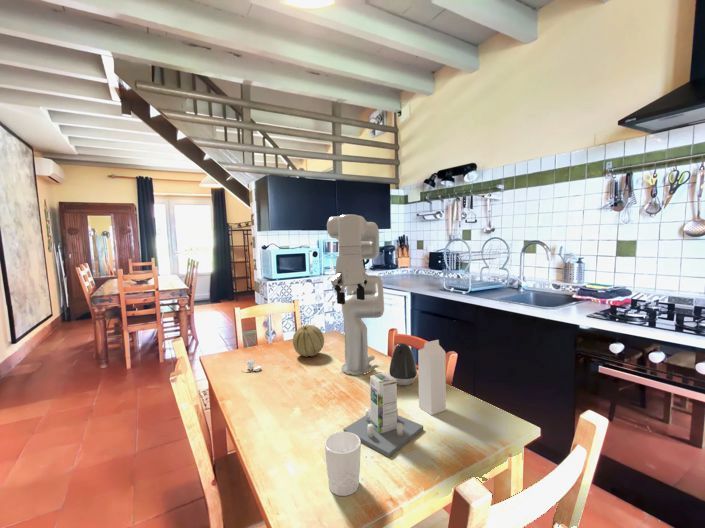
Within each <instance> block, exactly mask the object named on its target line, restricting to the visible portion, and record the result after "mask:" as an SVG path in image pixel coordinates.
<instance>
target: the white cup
mask: <svg viewBox="0 0 705 528" xmlns="http://www.w3.org/2000/svg"><path fill="white" fill-rule="evenodd" d="M361 444H362V443H361V441H360V438H359V437H358V436H357V435H355V434H353V433H350V432H344V431H337V432H335V433H332V434H330V435H329V436H328V437H326V439H325V440H324V450H325V464H326V473H327V480H328V481H327V482H328V489H329V490H330V491H331V493H332V494H333V495H335V496H339V497H347V496H351V495H353V494H354V493H355V492H357V490H358V489H359V486H360V473H361V471H360V470H361Z"/></svg>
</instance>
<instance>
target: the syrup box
mask: <svg viewBox="0 0 705 528" xmlns="http://www.w3.org/2000/svg"><path fill="white" fill-rule="evenodd" d="M369 378H370V384H369V386H370V387H369V389H370V391H369V392H370V405H369V406H370V410H371V424H373V427H374V428H375V429H376V430H377V431H378V432H379V433H380V434H382V433H385V432H388V431H391V430H394V429H397V409H398V405H397V404H398V403H397V402H398V399H397V398H398V397H397V396H398V393H397V392H398V389H397V388H398V386H397V385H398V384H397V379H395V378H393V377H392V376H391V375H390V373H389V372H388V373H387V372H381V373H379V372H378V373H375V374H373V375H370V376H369Z"/></svg>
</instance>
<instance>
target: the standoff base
mask: <svg viewBox="0 0 705 528" xmlns="http://www.w3.org/2000/svg"><path fill="white" fill-rule="evenodd" d="M398 410H399V408H397V429H394V430H391V431H388V432H385V433H382V434H380V433H379V432H378V431H377V430H376V429H375V428H374V427H373V424H371V408H370V409H368V408H366V409H365V415H364V416H362V417H361V418H359V419H358V420H356V421H354V422H352V423H351V424H349V425H348V426H346V427H344V428H343V432H350V433H353V434H355V435H357V436H358V437H359V438H360V441H361V444H363V445H365V446H367V447H369V448H371V449H372V450H374V451H376V452H378V453H379V454H382V455H384V456H385V457H387V458H390V457H392V456H393V455H394V454H396V453H397V452H398V451H400V450H401V449H402V448H403V447H404V446H405V445H407V443H409V442H410V441H411V440H413V439H414V438H415V437H416V436H417V435H419V434H420V433H422V432H423V431H424V425H423V424H420V423H418V422H416V421H412V420H410V419H408V418H406V417H403V416H401V415H399V411H398Z"/></svg>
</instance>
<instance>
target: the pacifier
mask: <svg viewBox="0 0 705 528" xmlns="http://www.w3.org/2000/svg"><path fill="white" fill-rule="evenodd" d="M246 365H247V366H248V368H247V369H248V370H249V369H253V370H252V371H256V372H258V371H260V370H262V366H260V365H258V366H257V367H254V365H255V359H248V360H246ZM247 366H246V367H247Z"/></svg>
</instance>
